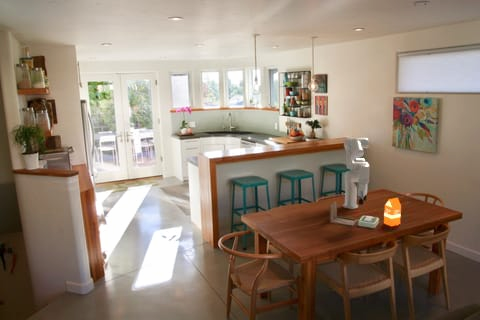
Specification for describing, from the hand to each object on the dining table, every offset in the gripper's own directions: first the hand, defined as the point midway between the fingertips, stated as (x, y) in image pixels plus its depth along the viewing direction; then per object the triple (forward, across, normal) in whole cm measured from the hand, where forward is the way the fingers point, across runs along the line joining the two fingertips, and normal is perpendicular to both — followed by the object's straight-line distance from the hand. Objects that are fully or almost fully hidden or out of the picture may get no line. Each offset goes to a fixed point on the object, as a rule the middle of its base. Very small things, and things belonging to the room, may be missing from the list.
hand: (362, 202), depth 298 cm
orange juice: (+17, -8, +21) cm, 28 cm away
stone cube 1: (+16, -1, +6) cm, 17 cm away
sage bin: (+16, +2, +6) cm, 17 cm away
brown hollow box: (+17, +5, -12) cm, 21 cm away
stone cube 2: (+16, +4, +6) cm, 17 cm away
